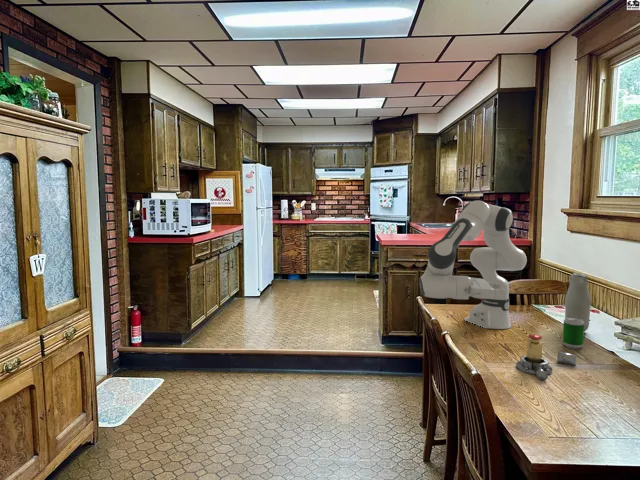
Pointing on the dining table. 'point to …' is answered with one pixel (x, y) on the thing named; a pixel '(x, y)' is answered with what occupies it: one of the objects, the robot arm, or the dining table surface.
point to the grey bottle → (578, 299)
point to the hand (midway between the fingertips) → (502, 288)
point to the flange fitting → (535, 368)
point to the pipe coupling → (567, 358)
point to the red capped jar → (534, 349)
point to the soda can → (573, 332)
